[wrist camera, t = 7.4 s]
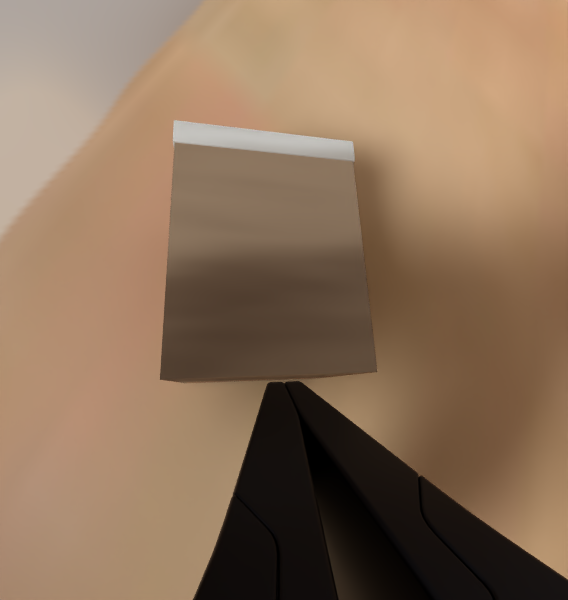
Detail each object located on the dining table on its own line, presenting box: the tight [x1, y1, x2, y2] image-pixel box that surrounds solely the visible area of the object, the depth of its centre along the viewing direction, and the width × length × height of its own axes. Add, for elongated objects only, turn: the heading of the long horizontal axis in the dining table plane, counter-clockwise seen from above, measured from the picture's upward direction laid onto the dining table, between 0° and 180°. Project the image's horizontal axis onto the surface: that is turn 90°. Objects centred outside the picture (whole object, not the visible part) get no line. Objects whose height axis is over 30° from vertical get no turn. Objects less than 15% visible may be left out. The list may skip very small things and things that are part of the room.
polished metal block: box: [160, 120, 377, 383], centre depth 12 cm, size 6×6×8 cm
